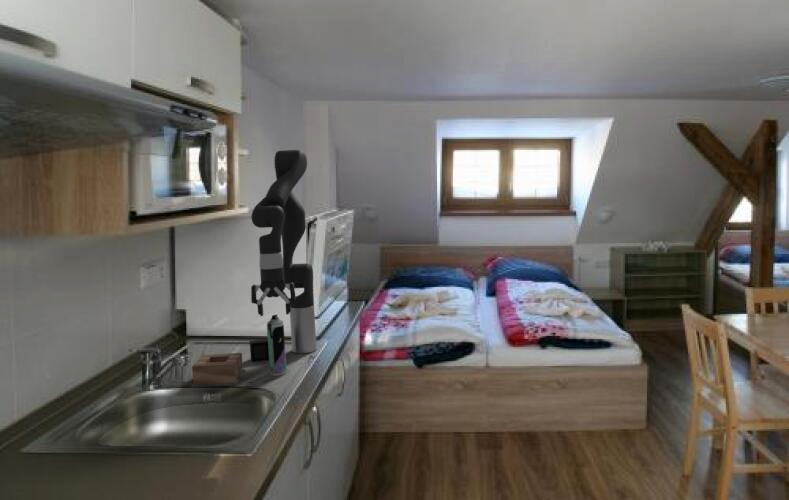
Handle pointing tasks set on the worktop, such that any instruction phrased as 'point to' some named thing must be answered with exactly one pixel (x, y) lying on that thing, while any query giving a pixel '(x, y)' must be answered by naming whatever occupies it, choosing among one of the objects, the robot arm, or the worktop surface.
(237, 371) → the socket block
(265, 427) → the worktop surface
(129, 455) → the worktop surface
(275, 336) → the spray can
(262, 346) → the digital camera
